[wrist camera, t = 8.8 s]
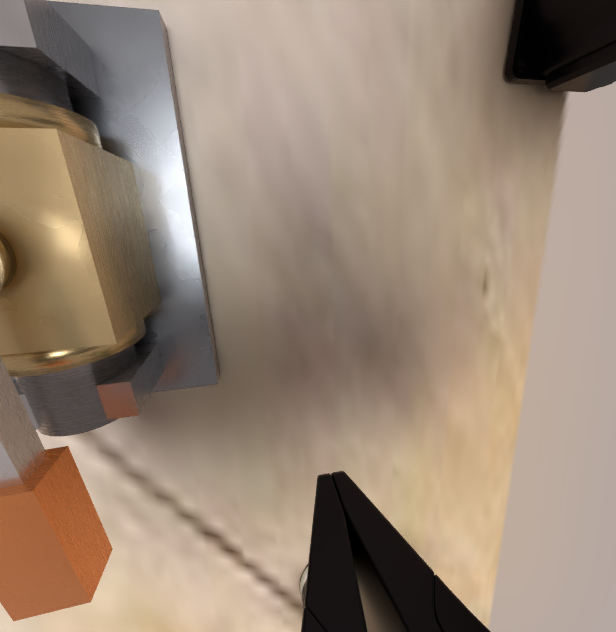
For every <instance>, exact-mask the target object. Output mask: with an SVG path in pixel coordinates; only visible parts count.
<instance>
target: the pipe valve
mask: <svg viewBox="0 0 616 632" xmlns="http://www.w3.org/2000/svg"><path fill="white" fill-rule="evenodd" d="M0 258H1V260H2V264H3V269H4V280H3V285H2V288H1V291H0V356H1V358H2V360H3V362H4V364H5V366H6V369H7V371H8V373H9V375H10V377H11V379H12V381H13V383H14V385H15V388H16V390H17V392H18V394H19V396H20V398H21V400H22V402H23V405H24V407H25V409H26V411H27V413H28V415H29V417H30V419H31V422H32V424H33V426H34V428H35V430H36V429H38V431H39V432H41V433H42V434H45V435H49V436H69V435H75V434H79V433H84V432H87V431H90V430H94V429H96V428H99V427H102V426H104V425H106V424H109V423H111V422H113V421H115V420H117V419H118V418H122V417H129V416H137V415H140V413H141V411H142V409H143V408H144V406H145V404H146V402H147V400H148V399H149V397H150V395H151V393H152V392H158V391H166V390H174V389H182V388H190V387H198V386H205V385H213V384H218V380H219V375H220V374H219V368H218V361H217V355H216V348H215V342H214V335H213V329H212V322H211V316H210V309H209V303H208V296H207V290H206V283H205V277H204V270H203V264H202V257H201V251H200V244H199V238H198V231H197V225H196V218H195V212H194V205H193V199H192V192H191V186H190V179H189V173H188V166H187V160H186V153H185V147H184V140H183V134H182V127H181V121H180V114H179V108H178V101H177V95H176V88H175V82H174V75H173V69H172V62H171V56H170V49H169V43H168V36H167V30H166V26H165V24H164V21H163V19H162V17H161V15H160V12H159V10H149V9H137V8H126V7H114V6H102V5H90V4H79V3H67V2H55V1H46V0H0Z"/></svg>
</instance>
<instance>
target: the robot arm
mask: <svg viewBox="0 0 616 632" xmlns="http://www.w3.org/2000/svg"><path fill="white" fill-rule="evenodd" d="M517 65H518V67H519V71H517ZM506 78H507V79H508V81H510V82H514V83H532V84H545V85H544V87H545V88H546V89H547V90H554V91H574V92H588V91H591V90H593V89H596V88H599V87H603V86H606V85H609V84H612V83H613V82H615V81H616V0H517V5H516V11H515V17H514V23H513V29H512V35H511V41H510V47H509V53H508V59H507V65H506ZM301 632H490V631H489V630H488V629H487V628H486V627H485V626H484V625H483V624H482V623H481V622H480V621H479V620H478V619H477V618H476V617H475V616H474V615H473V614H472V613H471V612H470V611H469V610H468V609H467V608H466V606H465V605H464V604H463V603H462V602H461V601H460V600H459V599H458V598H457V597H456V596H455V595H454V594H453V593H452V591H451V590H450V589H449V588H448V587H447V586H446V585H445V584H444V583H443V581H442V580H441V579H440V578H439V577H438V576H437V575H434V572H433V570H432V569H431V568H430V567H429V566H428V565H427V564H426V563H425V561H424V560H423V559H422V558H421V557H420V556H419V555H418V554H417V552H416V551H415V550H414V549H413V548H412V547H411V546H410V545H409V544H408V542H407V541H406V540H405V539H404V538H403V537H402V536H401V535H400V533H399V532H398V531H397V530H396V529H395V528H394V527H393V526H392V525H391V523H390V522H389V521H388V520H387V519H386V518H385V517H384V516H383V514H382V513H381V512H380V511H379V510H378V509H377V508H376V507H375V505H374V504H373V503H372V502H371V501H370V500H369V499H368V498H367V497H366V495H365V494H364V493H363V492H362V491H361V490H360V489H359V488H358V486H357V485H356V484H355V483H354V482H353V481H352V480H351V479H350V477H349V476H348V475H347V474H346V473H345V472H343V471H339V472H333V473H332V474H331V475H330V474H329V473H328V474H322V475H319V476H318V478H317V487H316V497H315V506H314V516H313V525H312V535H311V544H310V554H309V563H308V573H307V582H306V592H305V601H304V610H303V618H302V628H301Z"/></svg>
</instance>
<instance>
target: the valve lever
mask: <svg viewBox="0 0 616 632" xmlns="http://www.w3.org/2000/svg"><path fill="white" fill-rule="evenodd" d="M3 280H4V269H3V264H2V260H1V258H0V291H1V288H2V285H3ZM111 552H112V547H111V544H110V542H109V540H108V537H107V535H106V533H105V530H104V528H103V526H102V523H101V521H100V519H99V517H98V514H97V512H96V510H95V507H94V505H93V503H92V500H91V498H90V496H89V493H88V491H87V489H86V487H85V484H84V482H83V480H82V477H81V475H80V473H79V470H78V468H77V466H76V463H75V461H74V459H73V457H72V454H71V452H70V450H69V447H68V446H66V447H60V448H54V449H48V450H45V449H44V447H43V445H42V443H41V441H40V438H39V436H38V434H37V432H36V430H35V428H34V426H33V424H32V422H31V419H30V417H29V415H28V413H27V411H26V409H25V407H24V405H23V402H22V400H21V398H20V396H19V394H18V392H17V390H16V388H15V385H14V383H13V381H12V379H11V377H10V375H9V373H8V371H7V369H6V366H5V364H4V362H3V360H2V358H1V356H0V603H1V604H2V605H3V607H4V608H5V610H6V611H7V612H8V614H9V615H10V617H11V618H12V619H13V621H16V620H20V619H24V618H28V617H32V616H37V615H41V614H45V613H49V612H53V611H57V610H61V609H65V608H69V607H73V606H77V605H81V604H85V603H89V602H91V600H92V598H93V595H94V593H95V590H96V588H97V586H98V583H99V581H100V578H101V576H102V573H103V571H104V569H105V566H106V564H107V561H108V559H109V556H110V554H111Z"/></svg>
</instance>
